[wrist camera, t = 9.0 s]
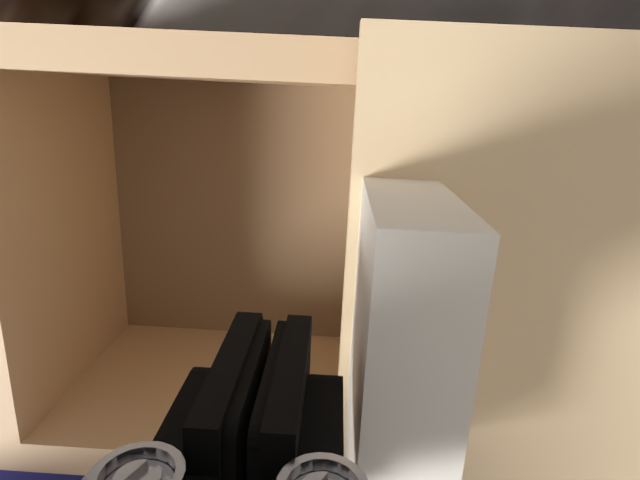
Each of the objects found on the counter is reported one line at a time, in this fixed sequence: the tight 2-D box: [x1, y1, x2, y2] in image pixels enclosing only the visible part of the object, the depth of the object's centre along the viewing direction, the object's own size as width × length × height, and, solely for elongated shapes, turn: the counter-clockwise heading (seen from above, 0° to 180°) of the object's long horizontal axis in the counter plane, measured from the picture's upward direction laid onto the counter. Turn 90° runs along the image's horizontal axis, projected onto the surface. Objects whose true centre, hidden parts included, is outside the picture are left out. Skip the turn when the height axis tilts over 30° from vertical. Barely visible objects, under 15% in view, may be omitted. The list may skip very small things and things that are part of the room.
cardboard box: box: [0, 22, 359, 475], centre depth 20 cm, size 15×15×10 cm
